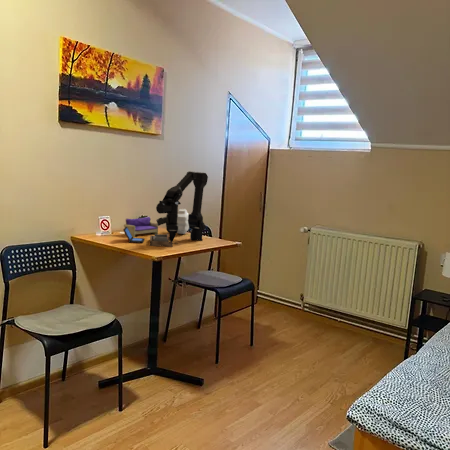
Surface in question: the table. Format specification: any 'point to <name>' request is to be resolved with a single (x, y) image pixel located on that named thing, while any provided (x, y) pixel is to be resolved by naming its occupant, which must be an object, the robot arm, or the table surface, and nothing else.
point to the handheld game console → (130, 238)
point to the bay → (160, 242)
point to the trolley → (160, 237)
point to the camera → (182, 221)
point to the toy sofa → (141, 226)
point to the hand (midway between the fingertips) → (171, 240)
